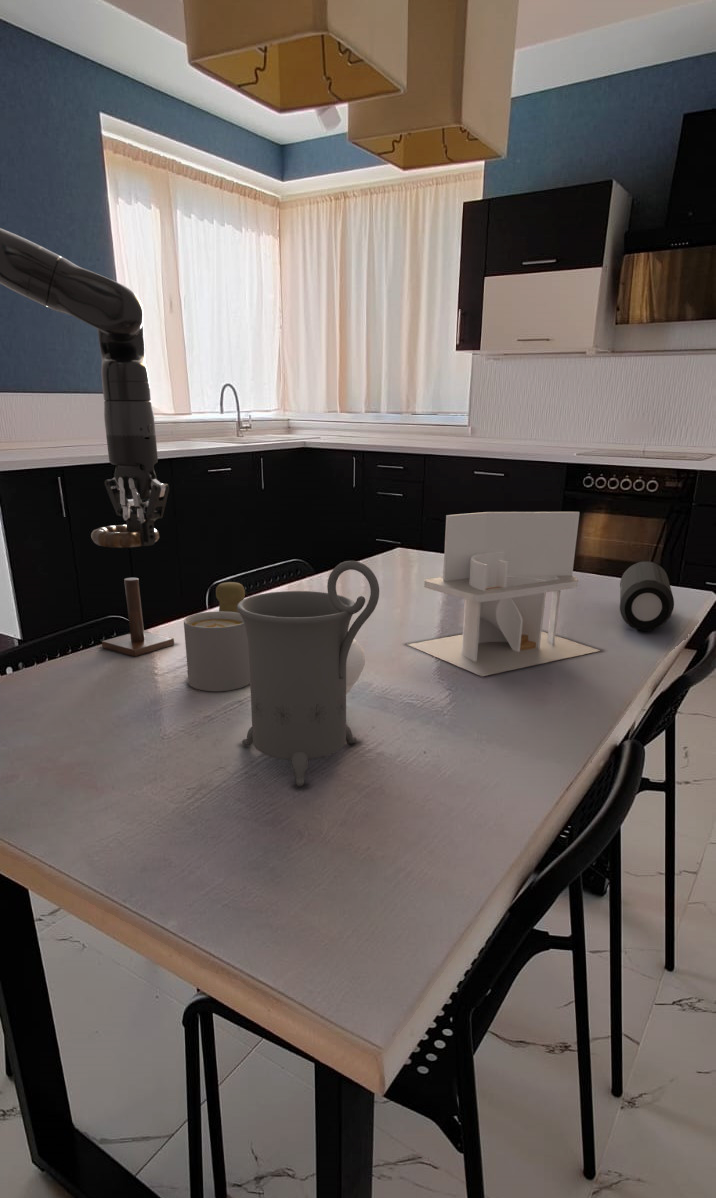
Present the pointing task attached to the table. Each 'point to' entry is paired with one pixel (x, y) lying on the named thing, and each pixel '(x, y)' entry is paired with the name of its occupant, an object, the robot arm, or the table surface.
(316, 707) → the mug
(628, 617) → the portable speaker
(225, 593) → the cork
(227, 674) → the coffee mug
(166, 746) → the table surface
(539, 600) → the architectural model
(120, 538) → the ring
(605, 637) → the table surface
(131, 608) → the post
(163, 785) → the table surface
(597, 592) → the table surface
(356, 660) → the spinning top
